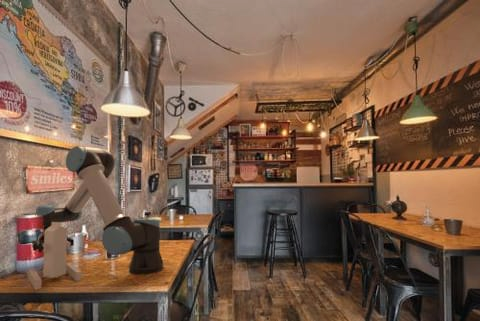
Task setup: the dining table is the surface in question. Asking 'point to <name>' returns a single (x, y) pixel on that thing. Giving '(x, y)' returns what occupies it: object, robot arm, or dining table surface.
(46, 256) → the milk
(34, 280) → the brown piece
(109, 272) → the dining table surface
